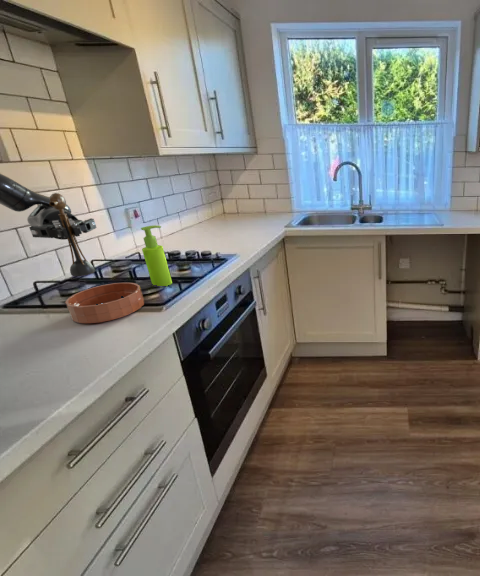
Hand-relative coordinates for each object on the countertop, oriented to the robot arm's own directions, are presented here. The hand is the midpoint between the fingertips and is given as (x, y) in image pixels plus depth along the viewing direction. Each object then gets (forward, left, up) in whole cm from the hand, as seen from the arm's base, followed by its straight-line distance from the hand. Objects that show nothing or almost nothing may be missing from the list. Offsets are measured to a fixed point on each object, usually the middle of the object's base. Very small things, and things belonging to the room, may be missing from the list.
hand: (71, 232), depth 86 cm
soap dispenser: (+21, +22, -26) cm, 40 cm away
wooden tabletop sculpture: (0, +3, -11) cm, 12 cm away
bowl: (+3, +11, -25) cm, 28 cm away
